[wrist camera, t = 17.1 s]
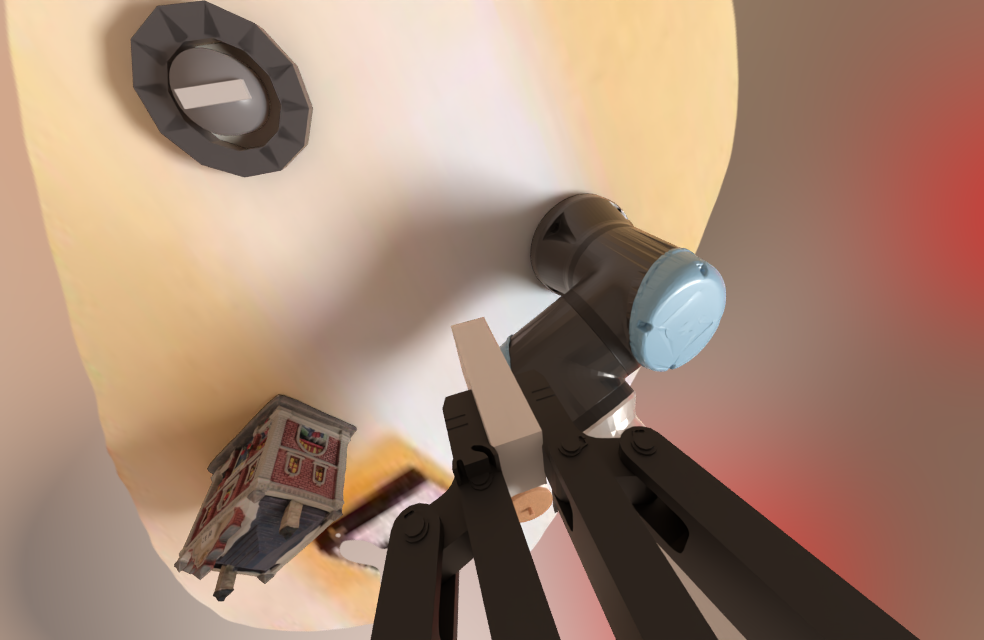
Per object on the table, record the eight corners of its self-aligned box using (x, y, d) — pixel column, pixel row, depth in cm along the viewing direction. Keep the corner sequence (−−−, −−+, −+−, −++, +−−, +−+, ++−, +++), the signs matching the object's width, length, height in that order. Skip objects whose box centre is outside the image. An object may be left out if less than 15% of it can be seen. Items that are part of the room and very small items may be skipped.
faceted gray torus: (273, 0, 31) (266, -7, 29) (331, 158, 38) (328, 161, 36) (109, 20, 29) (89, 13, 27) (203, 182, 36) (193, 187, 34)
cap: (249, 48, 32) (231, 40, 28) (282, 126, 36) (270, 129, 32) (174, 59, 31) (144, 52, 27) (215, 138, 35) (195, 142, 31)
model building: (278, 390, 51) (231, 526, 35) (359, 426, 59) (353, 550, 42) (206, 466, 54) (132, 623, 38) (292, 490, 62) (262, 629, 46)
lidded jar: (492, 494, 80) (504, 535, 72) (497, 463, 75) (511, 504, 67) (534, 485, 83) (550, 524, 76) (542, 455, 78) (561, 494, 70)
